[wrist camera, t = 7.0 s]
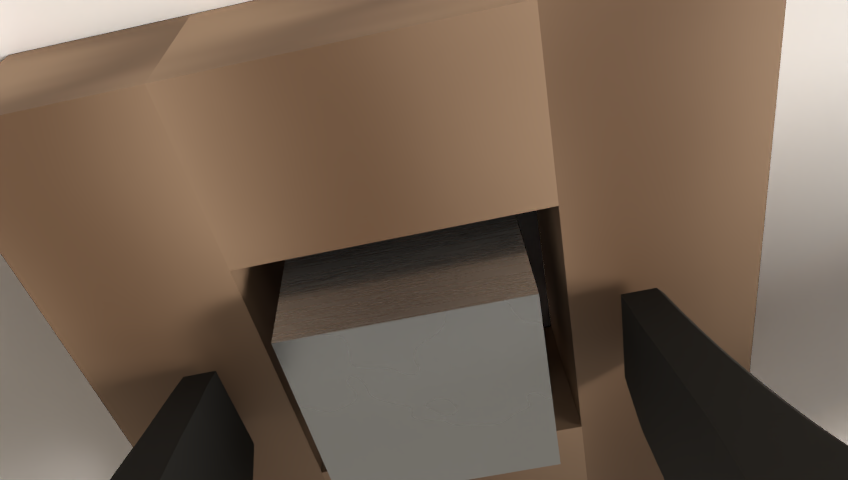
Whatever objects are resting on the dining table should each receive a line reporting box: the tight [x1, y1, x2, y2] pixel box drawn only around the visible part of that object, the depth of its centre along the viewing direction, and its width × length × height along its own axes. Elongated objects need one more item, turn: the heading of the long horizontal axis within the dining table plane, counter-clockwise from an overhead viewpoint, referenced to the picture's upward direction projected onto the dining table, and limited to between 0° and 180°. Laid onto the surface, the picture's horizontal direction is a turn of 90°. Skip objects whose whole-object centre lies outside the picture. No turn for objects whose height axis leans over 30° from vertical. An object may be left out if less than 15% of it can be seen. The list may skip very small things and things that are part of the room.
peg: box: [271, 215, 561, 480], centre depth 13 cm, size 4×4×5 cm
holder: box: [0, 0, 786, 480], centre depth 14 cm, size 12×12×3 cm
